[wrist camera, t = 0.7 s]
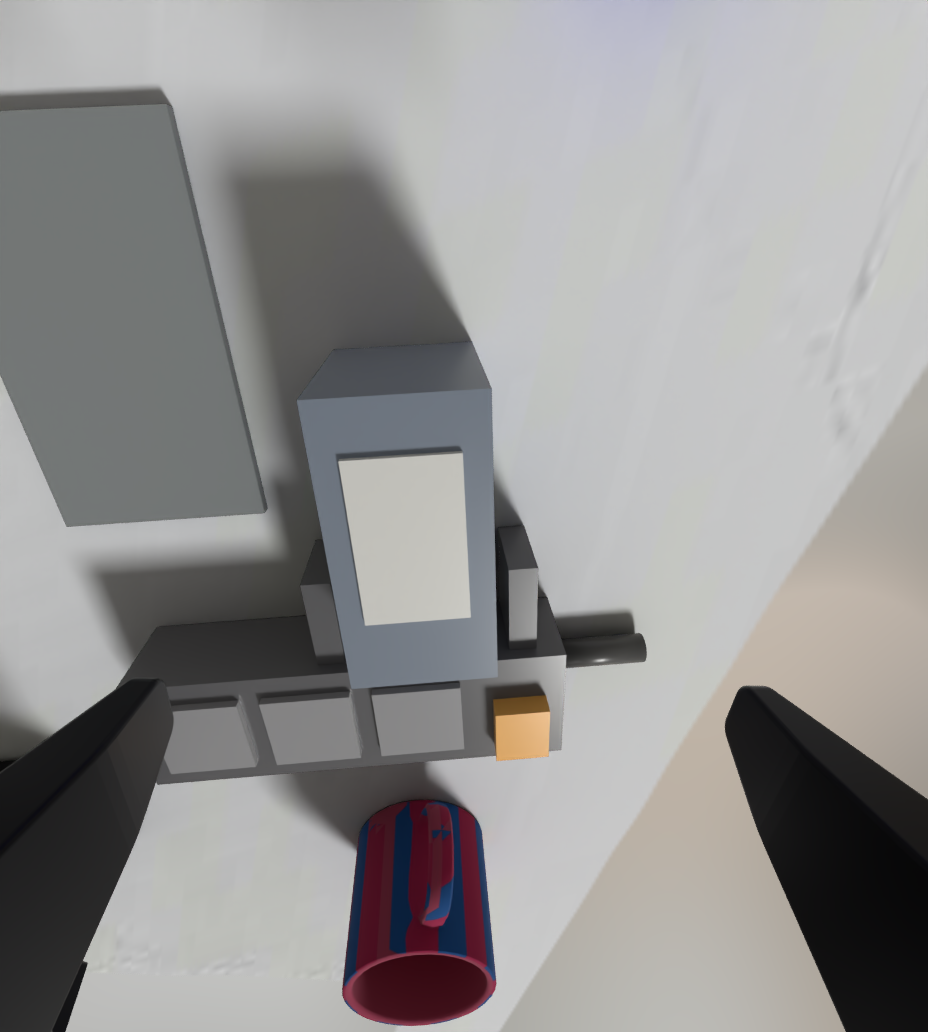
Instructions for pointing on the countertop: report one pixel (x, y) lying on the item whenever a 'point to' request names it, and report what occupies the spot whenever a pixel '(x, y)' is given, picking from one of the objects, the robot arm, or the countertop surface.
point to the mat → (116, 321)
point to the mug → (419, 917)
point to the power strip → (365, 711)
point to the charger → (406, 509)
